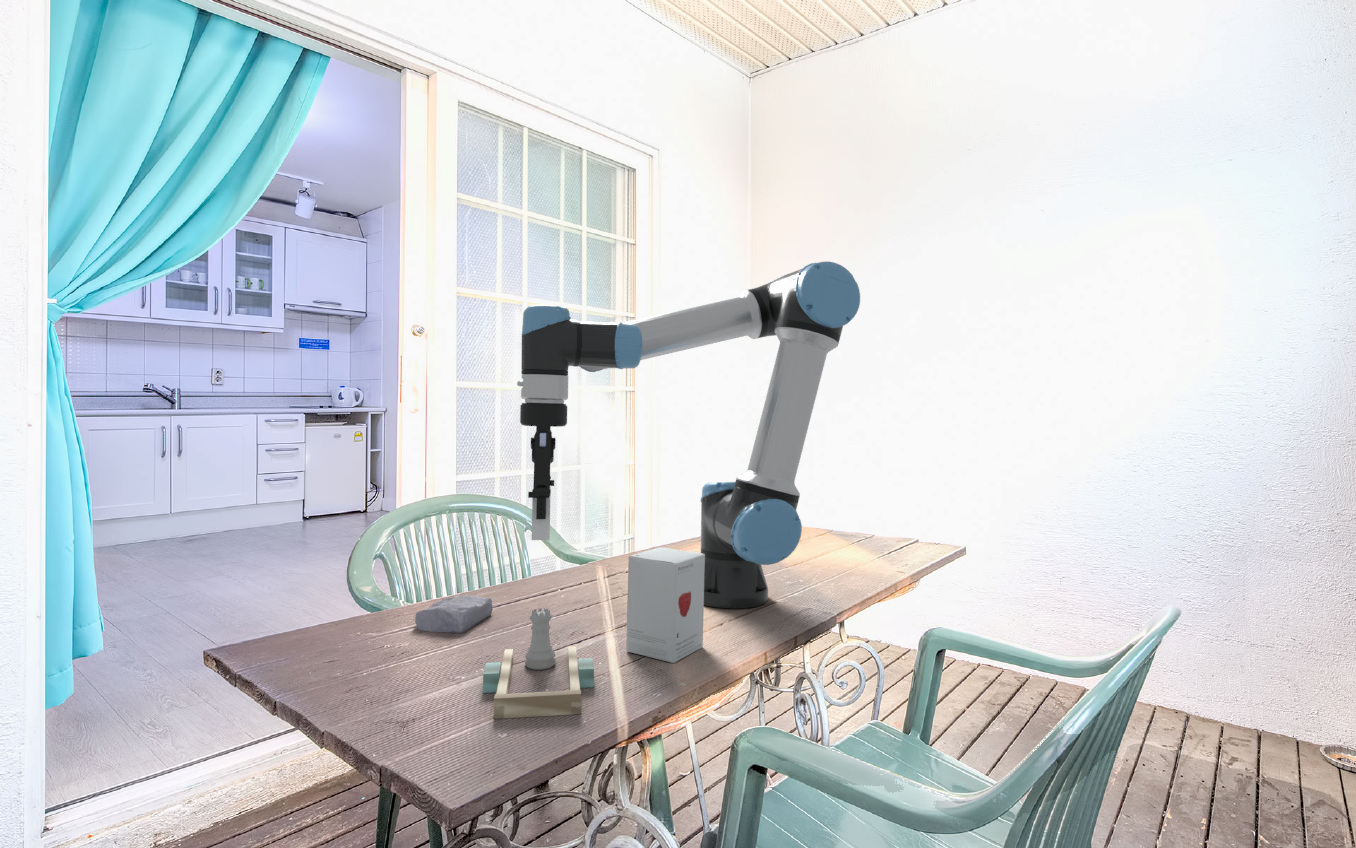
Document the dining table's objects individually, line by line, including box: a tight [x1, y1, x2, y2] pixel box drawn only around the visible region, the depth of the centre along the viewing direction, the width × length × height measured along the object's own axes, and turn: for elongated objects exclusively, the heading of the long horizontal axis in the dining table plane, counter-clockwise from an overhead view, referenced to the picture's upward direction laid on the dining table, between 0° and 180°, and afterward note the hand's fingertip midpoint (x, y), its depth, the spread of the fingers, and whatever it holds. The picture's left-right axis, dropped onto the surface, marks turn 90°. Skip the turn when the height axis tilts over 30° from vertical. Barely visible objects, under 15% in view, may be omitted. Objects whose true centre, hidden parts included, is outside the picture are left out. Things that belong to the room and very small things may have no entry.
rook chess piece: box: [524, 607, 557, 671], centre depth 103 cm, size 4×4×8 cm
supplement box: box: [625, 546, 705, 664], centre depth 110 cm, size 9×9×15 cm
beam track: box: [482, 645, 595, 720], centre depth 96 cm, size 20×14×2 cm
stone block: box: [414, 594, 493, 634], centre depth 122 cm, size 12×5×10 cm
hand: (541, 531), depth 116 cm, fingers open, 13 cm apart
